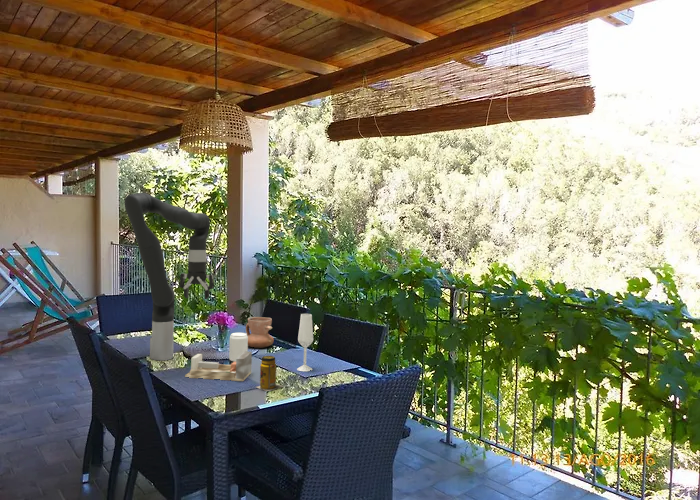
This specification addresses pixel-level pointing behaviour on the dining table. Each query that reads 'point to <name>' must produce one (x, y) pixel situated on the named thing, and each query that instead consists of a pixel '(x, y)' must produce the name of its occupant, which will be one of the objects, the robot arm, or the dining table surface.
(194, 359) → the plunger
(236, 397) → the dining table surface
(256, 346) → the ceramic jug
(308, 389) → the dining table surface
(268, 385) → the condiment
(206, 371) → the frame
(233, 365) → the orange stepped bar
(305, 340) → the champagne flute
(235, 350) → the beverage can
